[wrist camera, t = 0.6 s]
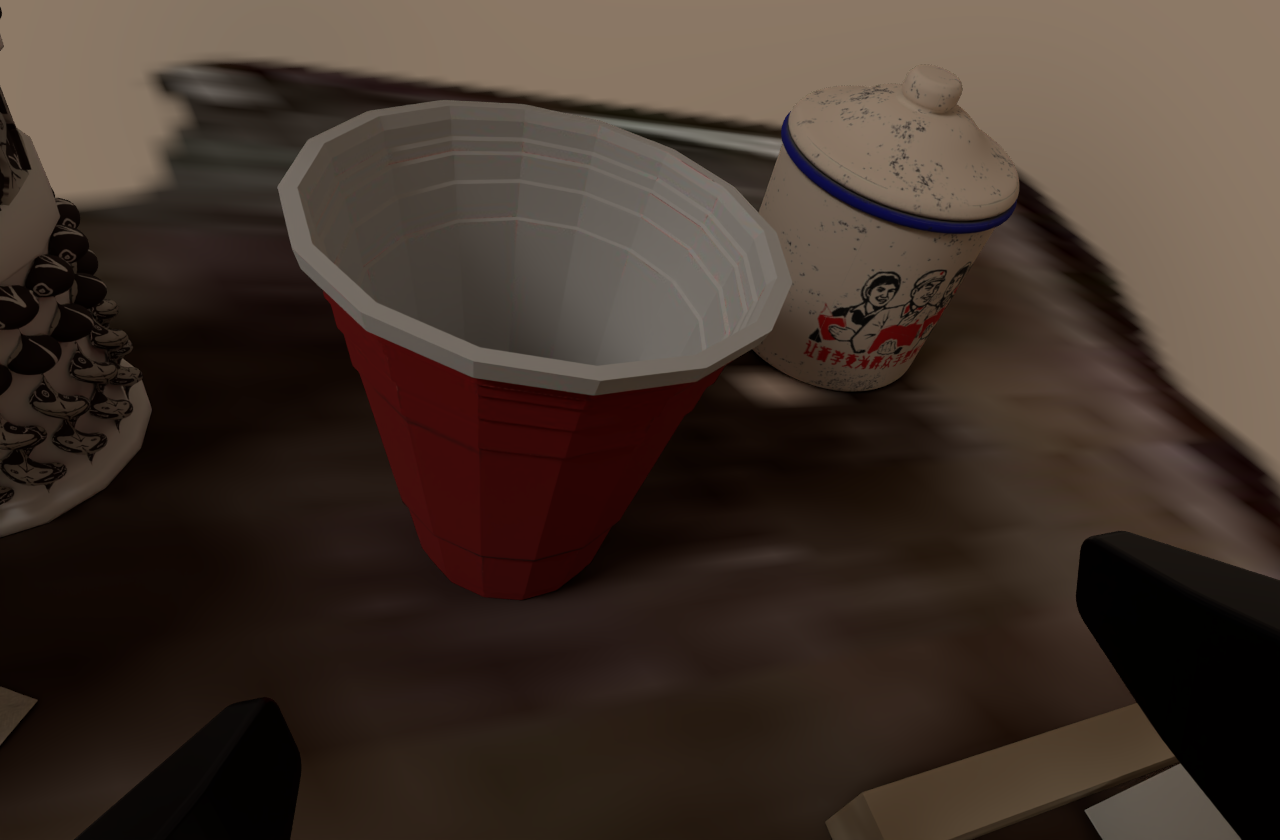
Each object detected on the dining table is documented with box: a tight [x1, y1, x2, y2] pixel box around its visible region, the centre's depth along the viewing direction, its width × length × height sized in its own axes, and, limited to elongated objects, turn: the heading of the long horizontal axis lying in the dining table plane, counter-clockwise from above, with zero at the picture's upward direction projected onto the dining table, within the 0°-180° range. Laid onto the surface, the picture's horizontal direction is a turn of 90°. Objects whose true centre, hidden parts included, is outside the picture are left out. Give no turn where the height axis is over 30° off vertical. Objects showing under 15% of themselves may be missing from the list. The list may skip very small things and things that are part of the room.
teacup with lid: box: [752, 64, 1019, 392], centre depth 31 cm, size 12×9×12 cm
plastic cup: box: [278, 100, 792, 600], centre depth 21 cm, size 11×11×12 cm
